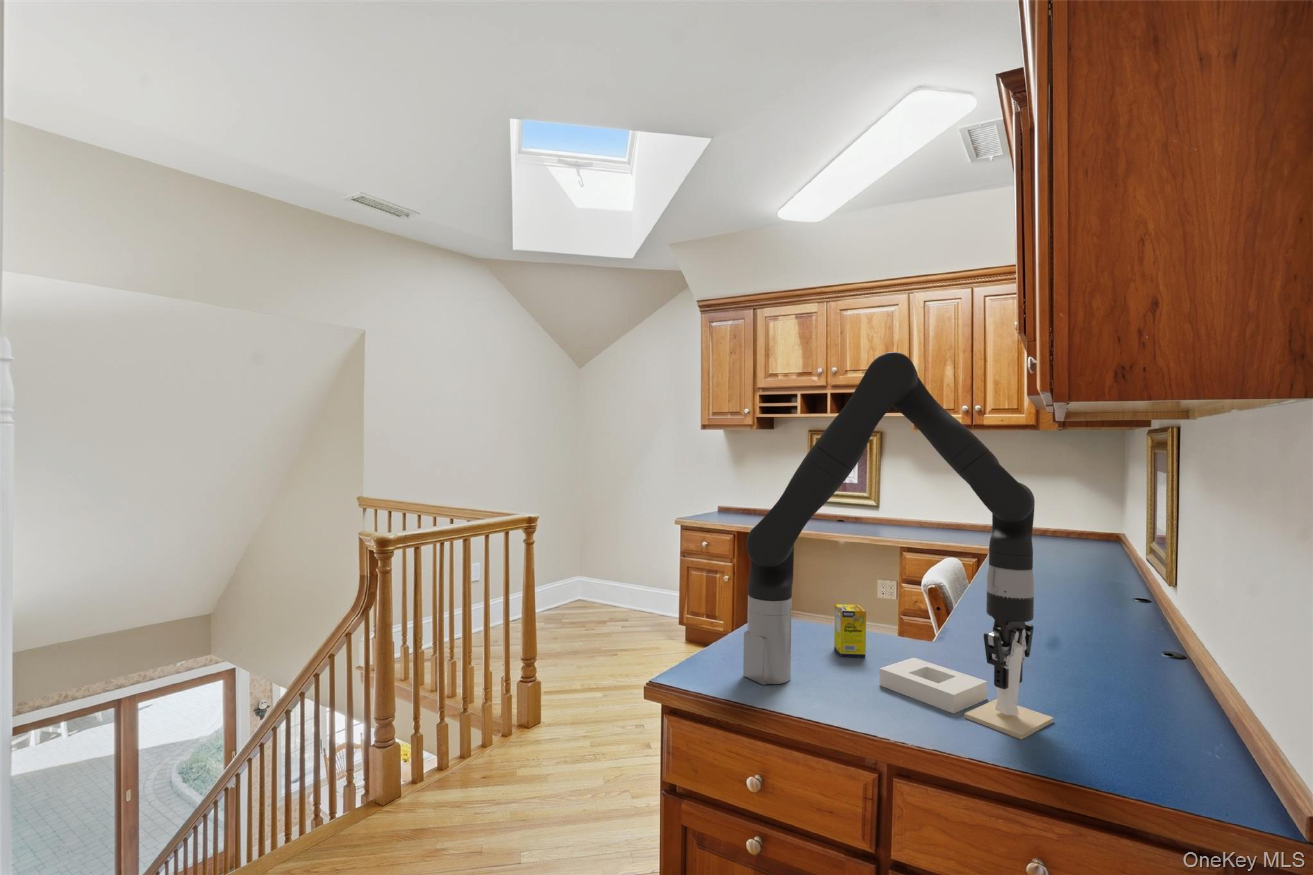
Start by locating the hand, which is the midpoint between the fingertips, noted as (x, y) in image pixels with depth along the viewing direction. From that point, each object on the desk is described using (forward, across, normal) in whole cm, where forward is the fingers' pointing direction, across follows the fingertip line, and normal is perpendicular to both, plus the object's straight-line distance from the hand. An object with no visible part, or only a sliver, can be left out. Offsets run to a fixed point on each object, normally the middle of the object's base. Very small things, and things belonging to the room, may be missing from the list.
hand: (1008, 684), depth 115 cm
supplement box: (+7, +5, +39) cm, 40 cm away
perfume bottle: (+5, 0, 0) cm, 5 cm away
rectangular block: (+7, 0, +15) cm, 16 cm away
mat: (+7, 0, 0) cm, 7 cm away
